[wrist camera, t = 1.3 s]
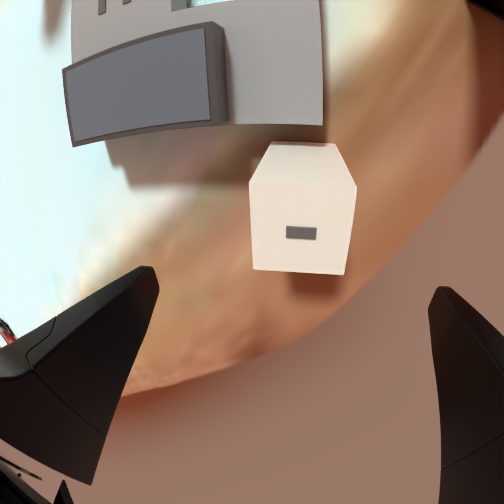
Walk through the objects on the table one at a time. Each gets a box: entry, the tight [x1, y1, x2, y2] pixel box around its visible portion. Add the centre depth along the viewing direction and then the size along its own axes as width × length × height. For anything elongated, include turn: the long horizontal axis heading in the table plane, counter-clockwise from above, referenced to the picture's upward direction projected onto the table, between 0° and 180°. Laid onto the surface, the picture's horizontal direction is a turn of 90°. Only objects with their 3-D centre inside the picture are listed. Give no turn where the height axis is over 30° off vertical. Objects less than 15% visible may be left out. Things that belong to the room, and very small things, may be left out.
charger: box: [249, 141, 357, 275], centre depth 14 cm, size 4×4×8 cm
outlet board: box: [71, 0, 323, 125], centre depth 11 cm, size 16×17×3 cm
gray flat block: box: [62, 21, 229, 147], centre depth 12 cm, size 10×6×2 cm, turn 92°
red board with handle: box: [0, 321, 15, 344], centre depth 56 cm, size 30×3×15 cm
